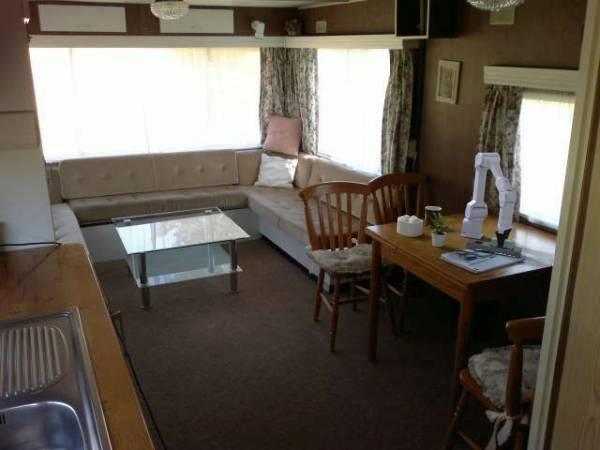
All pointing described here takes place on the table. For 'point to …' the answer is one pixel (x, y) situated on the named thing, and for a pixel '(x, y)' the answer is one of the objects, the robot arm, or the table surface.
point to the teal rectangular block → (508, 243)
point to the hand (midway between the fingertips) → (502, 244)
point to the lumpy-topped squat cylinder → (409, 226)
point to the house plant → (438, 231)
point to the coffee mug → (431, 215)
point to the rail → (493, 248)
